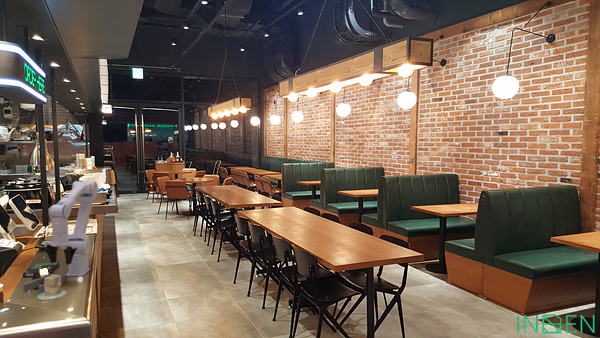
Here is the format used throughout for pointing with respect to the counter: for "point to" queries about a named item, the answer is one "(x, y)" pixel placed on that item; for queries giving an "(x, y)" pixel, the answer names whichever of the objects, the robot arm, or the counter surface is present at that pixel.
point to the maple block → (52, 285)
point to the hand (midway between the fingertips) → (61, 263)
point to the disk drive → (35, 268)
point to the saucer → (48, 298)
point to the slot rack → (39, 281)
